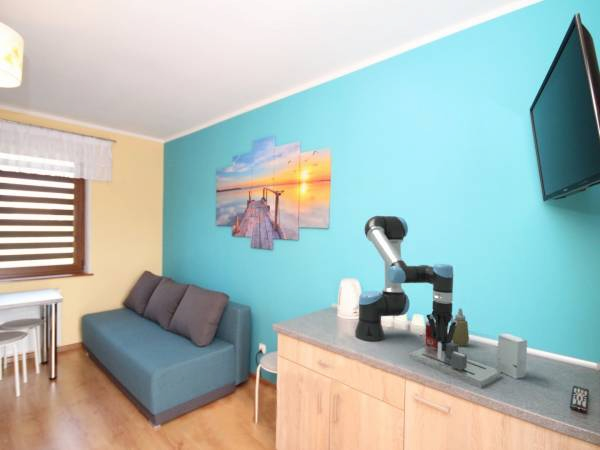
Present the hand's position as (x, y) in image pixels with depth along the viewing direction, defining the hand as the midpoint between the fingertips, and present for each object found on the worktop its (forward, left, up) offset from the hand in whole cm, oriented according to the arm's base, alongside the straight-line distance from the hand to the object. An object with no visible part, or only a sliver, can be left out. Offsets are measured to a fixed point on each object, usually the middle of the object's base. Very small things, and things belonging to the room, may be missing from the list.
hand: (440, 357), depth 127 cm
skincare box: (+19, +19, -4) cm, 27 cm away
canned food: (-15, +20, -4) cm, 26 cm away
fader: (+8, 0, -1) cm, 8 cm away
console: (+3, +4, -4) cm, 6 cm away
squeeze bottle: (-9, +33, -4) cm, 35 cm away
